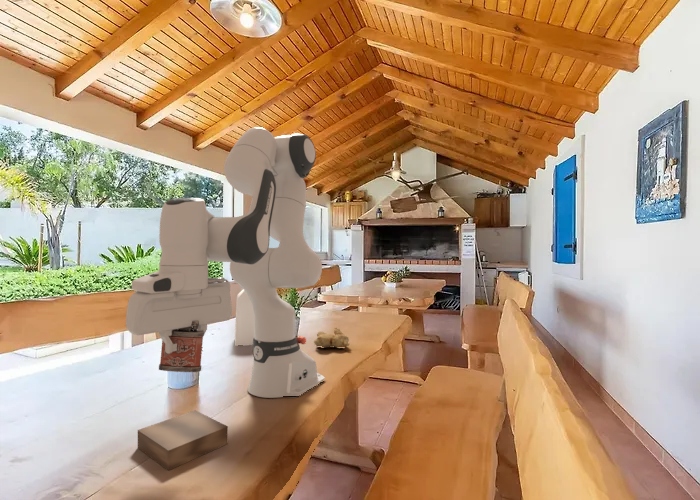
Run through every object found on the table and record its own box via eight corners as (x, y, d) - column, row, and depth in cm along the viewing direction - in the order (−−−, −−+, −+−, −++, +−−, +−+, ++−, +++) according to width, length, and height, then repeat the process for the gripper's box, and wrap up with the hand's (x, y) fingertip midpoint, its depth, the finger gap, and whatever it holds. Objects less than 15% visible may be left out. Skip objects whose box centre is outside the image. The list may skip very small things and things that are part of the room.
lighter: (203, 368, 78) (208, 318, 79) (197, 373, 74) (201, 320, 75) (163, 366, 78) (168, 315, 79) (155, 370, 75) (159, 317, 75)
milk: (234, 338, 165) (235, 277, 165) (262, 337, 169) (263, 277, 169) (235, 345, 154) (235, 279, 154) (265, 344, 157) (265, 279, 157)
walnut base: (195, 426, 85) (195, 410, 85) (227, 443, 78) (227, 426, 78) (137, 447, 76) (137, 430, 76) (168, 470, 69) (168, 450, 69)
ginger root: (346, 351, 143) (341, 329, 144) (307, 357, 148) (303, 336, 149) (358, 342, 158) (354, 323, 159) (322, 348, 163) (319, 329, 164)
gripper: (221, 275, 87) (220, 337, 87) (122, 281, 71) (121, 358, 71) (238, 277, 83) (238, 342, 83) (137, 284, 67) (137, 364, 67)
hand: (183, 349), depth 77 cm, fingers closed on lighter, 4 cm apart
